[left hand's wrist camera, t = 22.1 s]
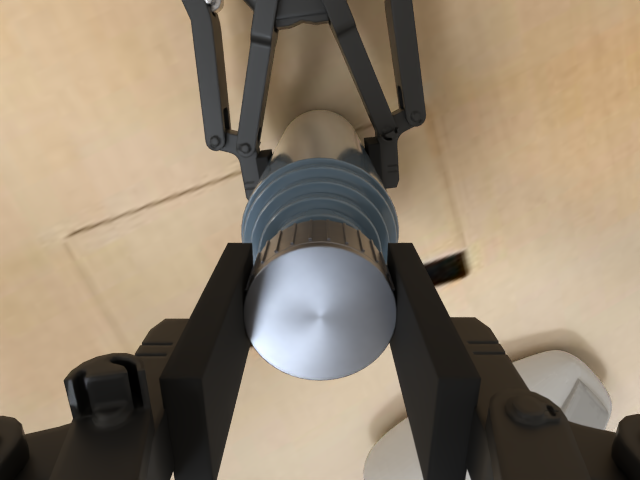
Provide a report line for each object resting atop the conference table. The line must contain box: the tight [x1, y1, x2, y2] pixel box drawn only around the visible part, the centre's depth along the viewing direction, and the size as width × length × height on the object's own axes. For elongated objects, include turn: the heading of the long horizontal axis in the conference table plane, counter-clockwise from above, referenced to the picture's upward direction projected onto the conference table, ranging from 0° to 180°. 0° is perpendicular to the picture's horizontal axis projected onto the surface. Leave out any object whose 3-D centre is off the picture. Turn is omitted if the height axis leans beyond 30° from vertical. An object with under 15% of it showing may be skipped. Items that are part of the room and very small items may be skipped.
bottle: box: [241, 110, 399, 266], centre depth 25 cm, size 6×6×25 cm
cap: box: [243, 219, 397, 380], centre depth 14 cm, size 4×4×2 cm
